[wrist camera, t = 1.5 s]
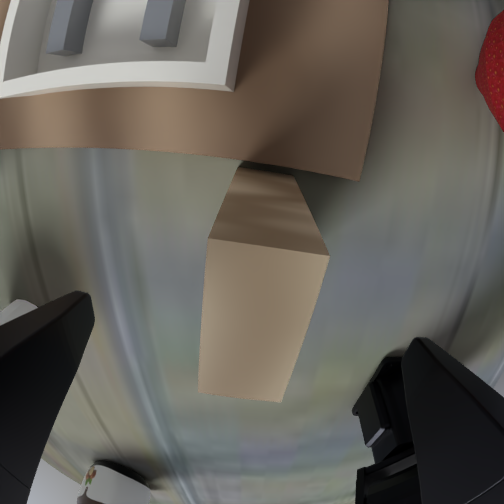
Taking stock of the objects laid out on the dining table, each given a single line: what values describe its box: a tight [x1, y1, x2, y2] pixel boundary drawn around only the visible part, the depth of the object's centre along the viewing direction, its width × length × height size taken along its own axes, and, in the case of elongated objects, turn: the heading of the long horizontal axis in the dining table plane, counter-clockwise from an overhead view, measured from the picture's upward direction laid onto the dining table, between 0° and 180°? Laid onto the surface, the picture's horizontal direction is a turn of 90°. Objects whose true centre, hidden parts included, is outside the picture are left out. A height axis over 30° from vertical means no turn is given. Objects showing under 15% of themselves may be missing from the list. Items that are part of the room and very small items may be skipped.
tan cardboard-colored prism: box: [198, 167, 330, 402], centre depth 11 cm, size 2×5×8 cm, turn 172°
